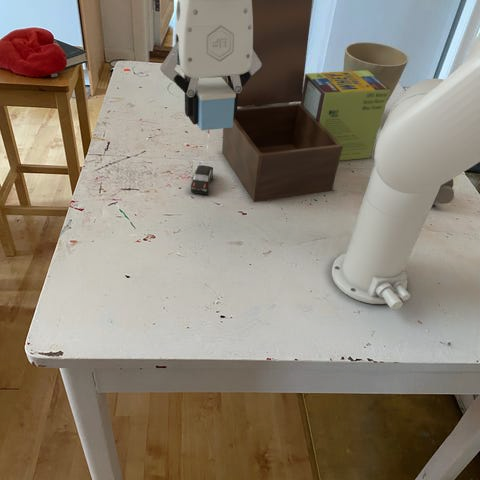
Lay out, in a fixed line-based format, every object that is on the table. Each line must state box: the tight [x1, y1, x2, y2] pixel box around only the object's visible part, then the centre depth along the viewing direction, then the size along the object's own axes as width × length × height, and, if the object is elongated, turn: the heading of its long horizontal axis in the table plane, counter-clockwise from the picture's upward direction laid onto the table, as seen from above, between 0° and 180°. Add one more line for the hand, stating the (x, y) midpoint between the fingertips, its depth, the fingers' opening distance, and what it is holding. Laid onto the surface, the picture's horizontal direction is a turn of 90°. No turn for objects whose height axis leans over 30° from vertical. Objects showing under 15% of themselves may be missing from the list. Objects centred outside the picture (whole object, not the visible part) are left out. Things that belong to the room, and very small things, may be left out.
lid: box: [224, 0, 313, 107], centre depth 95 cm, size 20×18×5 cm
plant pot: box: [342, 41, 409, 102], centre depth 117 cm, size 15×15×16 cm
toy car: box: [190, 130, 214, 195], centre depth 94 cm, size 4×12×8 cm, turn 172°
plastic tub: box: [196, 77, 236, 131], centre depth 70 cm, size 6×5×5 cm
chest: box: [221, 102, 343, 203], centre depth 98 cm, size 20×18×10 cm
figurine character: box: [431, 178, 455, 208], centre depth 96 cm, size 7×8×15 cm
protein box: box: [300, 70, 390, 162], centre depth 105 cm, size 10×15×16 cm
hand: (211, 117), depth 72 cm, fingers closed on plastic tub, 5 cm apart
